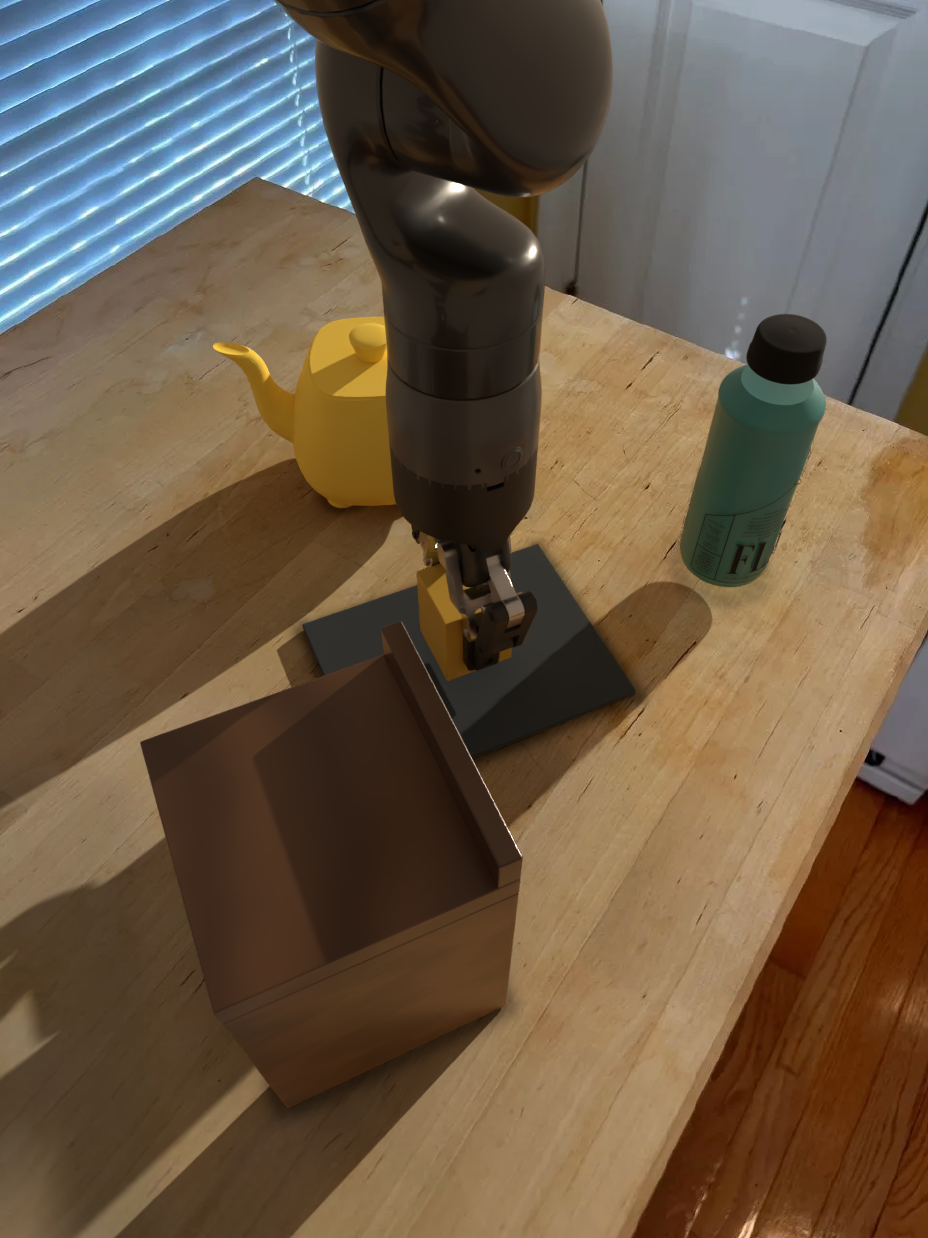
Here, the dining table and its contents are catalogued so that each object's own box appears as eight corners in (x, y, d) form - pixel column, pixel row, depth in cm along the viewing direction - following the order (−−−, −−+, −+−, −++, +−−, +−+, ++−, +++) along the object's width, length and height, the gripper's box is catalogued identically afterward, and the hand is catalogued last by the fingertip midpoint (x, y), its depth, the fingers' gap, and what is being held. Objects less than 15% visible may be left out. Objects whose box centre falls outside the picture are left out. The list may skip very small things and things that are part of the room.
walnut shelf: (287, 1109, 46) (200, 997, 31) (222, 893, 53) (125, 716, 38) (506, 1005, 49) (523, 857, 34) (419, 813, 56) (401, 619, 41)
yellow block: (447, 682, 59) (445, 624, 55) (420, 630, 62) (416, 571, 57) (511, 657, 61) (515, 599, 56) (481, 607, 63) (483, 548, 58)
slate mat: (375, 798, 57) (375, 793, 56) (303, 629, 64) (301, 623, 64) (635, 695, 61) (636, 690, 61) (537, 548, 69) (538, 543, 68)
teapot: (251, 417, 78) (219, 283, 68) (491, 406, 79) (494, 272, 69) (238, 536, 70) (200, 404, 60) (506, 522, 70) (513, 389, 61)
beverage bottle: (714, 617, 65) (793, 383, 49) (653, 556, 68) (709, 319, 52) (783, 579, 67) (881, 342, 51) (721, 522, 70) (794, 283, 55)
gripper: (343, 364, 50) (370, 574, 63) (452, 548, 42) (456, 742, 55) (472, 329, 52) (471, 540, 65) (600, 499, 44) (568, 698, 57)
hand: (464, 632), depth 60 cm, fingers closed on yellow block, 4 cm apart
